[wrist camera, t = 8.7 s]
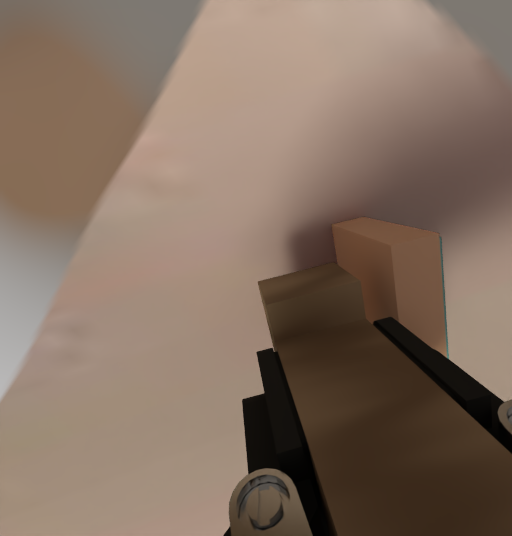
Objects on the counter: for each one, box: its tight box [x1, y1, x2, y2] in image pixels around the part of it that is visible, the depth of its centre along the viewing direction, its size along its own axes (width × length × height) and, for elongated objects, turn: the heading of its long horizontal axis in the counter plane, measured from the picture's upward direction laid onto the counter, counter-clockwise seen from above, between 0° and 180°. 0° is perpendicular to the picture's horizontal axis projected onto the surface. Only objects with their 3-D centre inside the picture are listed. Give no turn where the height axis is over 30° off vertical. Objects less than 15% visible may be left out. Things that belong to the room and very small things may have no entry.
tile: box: [331, 217, 449, 359], centre depth 13 cm, size 2×7×6 cm, turn 13°
